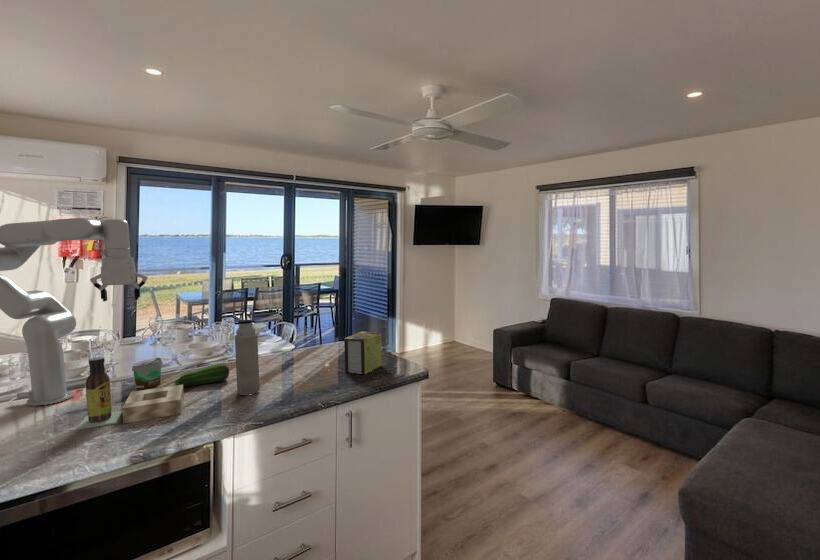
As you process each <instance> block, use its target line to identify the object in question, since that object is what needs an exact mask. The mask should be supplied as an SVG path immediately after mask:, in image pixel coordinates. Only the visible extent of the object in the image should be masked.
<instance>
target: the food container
mask: <svg viewBox="0 0 820 560" xmlns="http://www.w3.org/2000/svg"><path fill="white" fill-rule="evenodd" d="M163 365H164V364H163V359H162V358H160V357H155V359H154V360H152V361H146V362H143V363H141V364H139V365H132V367H131V372H133V377H134V381H135V382H134V385H135V388H136V389H138V390H137V391H141V389H144V390H148V389H149V388H150V389H154V388H156V386H157V387H158V385H159V386H161V384H162V383H161V382H162V381H161V375H162V366H163ZM153 387H154V388H153Z"/></svg>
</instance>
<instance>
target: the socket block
mask: <svg viewBox="0 0 820 560" xmlns="http://www.w3.org/2000/svg"><path fill="white" fill-rule="evenodd" d="M184 393H185V392H184V387H183V385H170V386H165V387H164V386H163V387H157V388H156V387H154V388H150V389H144V390H134V391H131V392H130V393H129V395H128V397H127V399H126V401H125V403H124V404H123V406H122V408H121V411H122V424H128V423H129V424H130V423H134V422H140V421H141V422H142V421H146V420H152V419H159V418H163V417H164V416H165V417H171V416H177V415H181V414H182V411H183V405H184V401H185V400H184V399H185V395H184ZM181 410H182V411H181ZM176 414H177V415H176ZM170 415H171V416H170ZM165 417H164V418H165Z"/></svg>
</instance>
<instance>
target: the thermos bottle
mask: <svg viewBox="0 0 820 560" xmlns="http://www.w3.org/2000/svg"><path fill="white" fill-rule="evenodd" d="M237 323H238V328H237V329H236V332H235V335H234V349H235V350H234V352H235V373H236V375H235V376H236V390H237V391H236V392H237V393H238V394H240V395H249V394H254V393H257V392H258V391H259V390H260V391H261V389H260V388H261V387H260V369H259V368H260V367H259V343H258V341H259V340H258V338H259V337H258V333H256V328H255V327H254V325H253V320H252V319H240V320H238V322H237ZM260 391H259V392H260ZM259 392H258V393H259ZM258 393H257V394H258ZM238 394H237V395H238ZM240 395H239V396H240ZM254 395H255V394H254Z"/></svg>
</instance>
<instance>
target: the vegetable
mask: <svg viewBox="0 0 820 560" xmlns="http://www.w3.org/2000/svg"><path fill="white" fill-rule="evenodd" d="M229 375H230V369H229V367H228V365H226V364H223V363H220V364H219V363H218V364H217V363H216V364H213V365H210V366H207V367H203V368H199V369H196V370H193V371H190V372H186V373H184V374H182V375H181V376H180V378H178V379H176V380H175V381H174V382H173V383H174V384H175V386H177V385H183V388H188V387H189V386H190V387H193V386H197V385H207V384H216V383H220V382H223V381H225V380H227V379H228V378H229ZM190 387H189V388H190Z"/></svg>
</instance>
